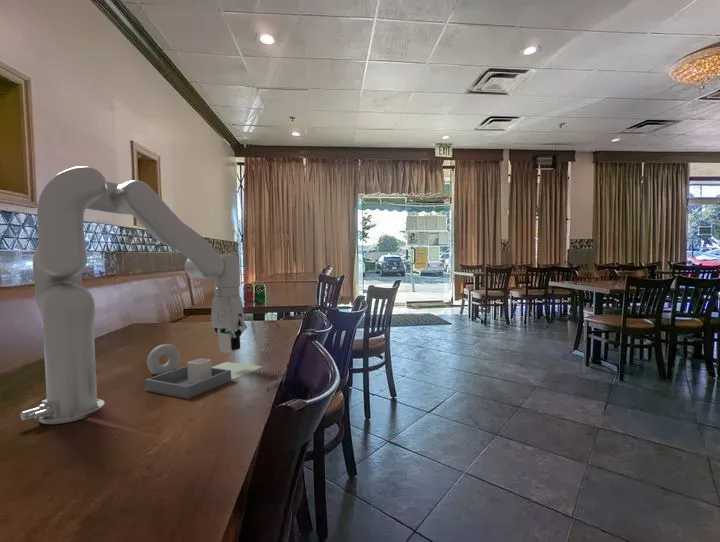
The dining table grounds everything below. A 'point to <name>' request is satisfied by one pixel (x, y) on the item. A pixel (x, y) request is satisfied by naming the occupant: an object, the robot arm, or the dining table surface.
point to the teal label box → (226, 342)
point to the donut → (155, 356)
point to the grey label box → (199, 370)
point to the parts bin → (185, 383)
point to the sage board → (237, 368)
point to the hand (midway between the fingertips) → (229, 348)
